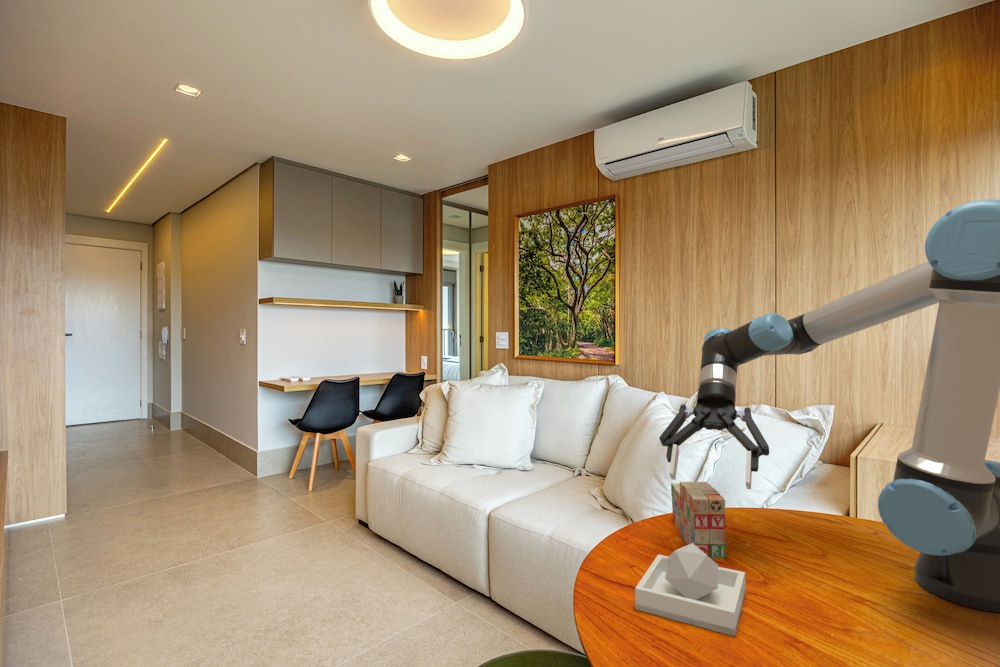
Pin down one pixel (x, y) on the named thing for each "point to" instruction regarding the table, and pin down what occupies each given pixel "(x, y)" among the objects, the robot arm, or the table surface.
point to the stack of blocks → (700, 516)
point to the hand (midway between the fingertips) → (708, 481)
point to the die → (692, 572)
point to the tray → (704, 612)
